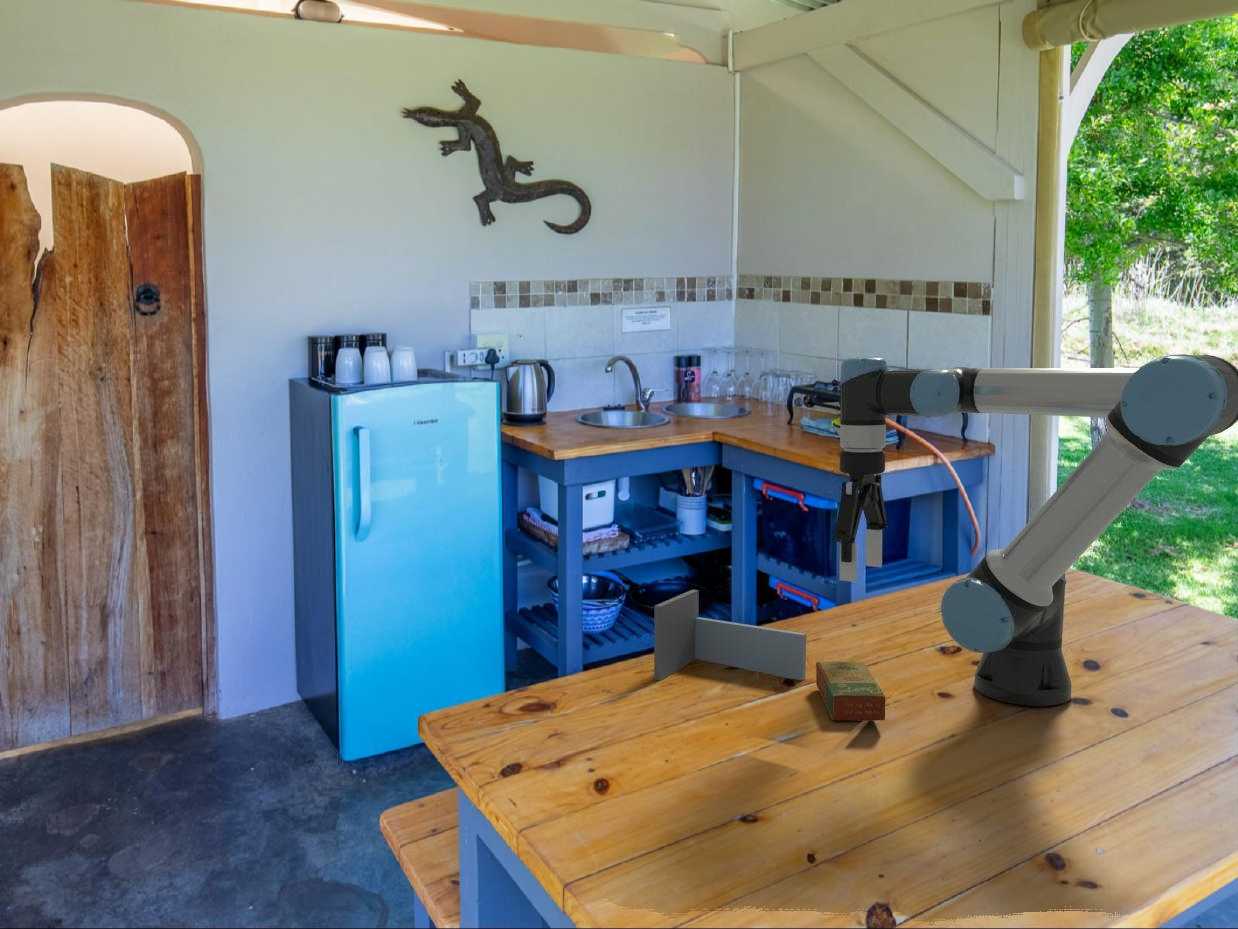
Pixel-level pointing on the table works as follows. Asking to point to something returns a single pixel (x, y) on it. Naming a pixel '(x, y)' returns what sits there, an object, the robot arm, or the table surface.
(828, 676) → the carton
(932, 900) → the table surface
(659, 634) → the grey perpendicular panels
